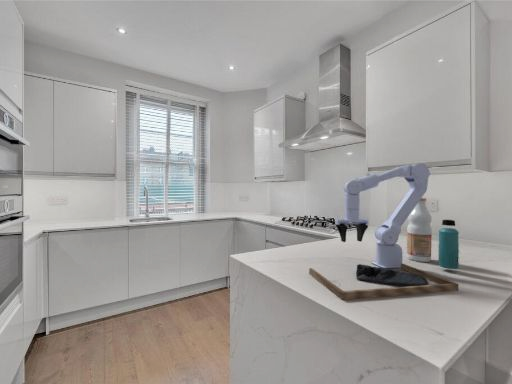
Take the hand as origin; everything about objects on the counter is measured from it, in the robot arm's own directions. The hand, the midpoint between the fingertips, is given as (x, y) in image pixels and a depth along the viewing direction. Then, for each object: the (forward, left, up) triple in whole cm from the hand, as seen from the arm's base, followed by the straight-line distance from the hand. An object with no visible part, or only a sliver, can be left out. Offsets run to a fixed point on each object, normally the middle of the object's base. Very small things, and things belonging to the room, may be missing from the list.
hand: (351, 241), depth 108 cm
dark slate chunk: (-3, +20, -10) cm, 22 cm away
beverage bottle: (-33, +15, -10) cm, 37 cm away
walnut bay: (+3, +21, -9) cm, 23 cm away
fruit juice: (-35, -1, -10) cm, 36 cm away
